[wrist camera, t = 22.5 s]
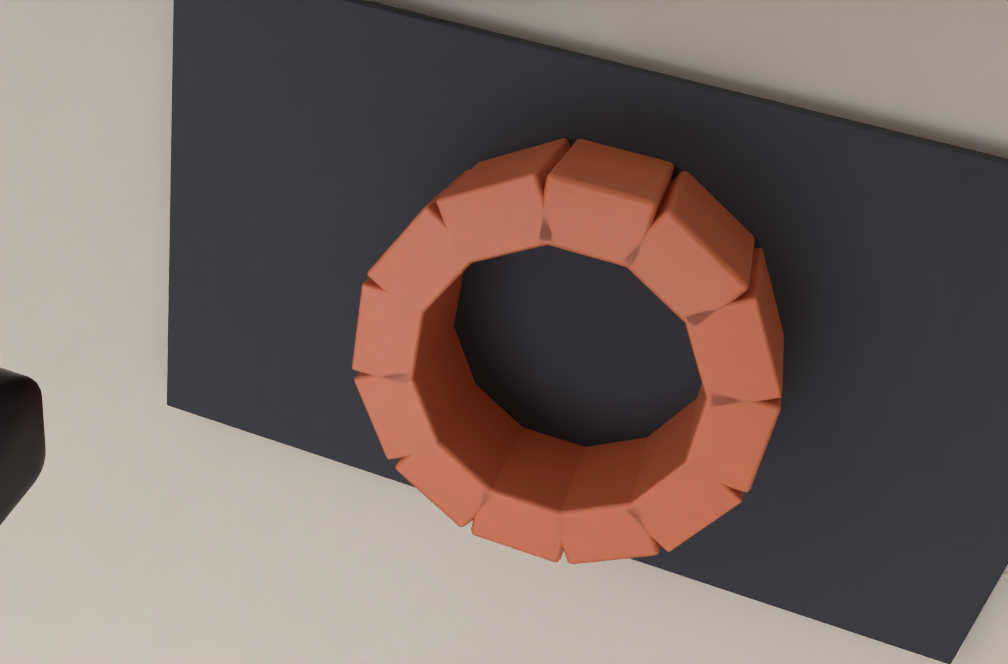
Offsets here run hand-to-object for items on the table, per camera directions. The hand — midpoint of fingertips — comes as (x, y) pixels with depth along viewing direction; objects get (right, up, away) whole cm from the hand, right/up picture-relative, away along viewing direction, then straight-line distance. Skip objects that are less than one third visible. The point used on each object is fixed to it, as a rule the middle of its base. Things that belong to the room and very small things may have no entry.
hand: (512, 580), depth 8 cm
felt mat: (+2, +2, +11) cm, 11 cm away
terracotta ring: (+1, +2, +11) cm, 11 cm away
